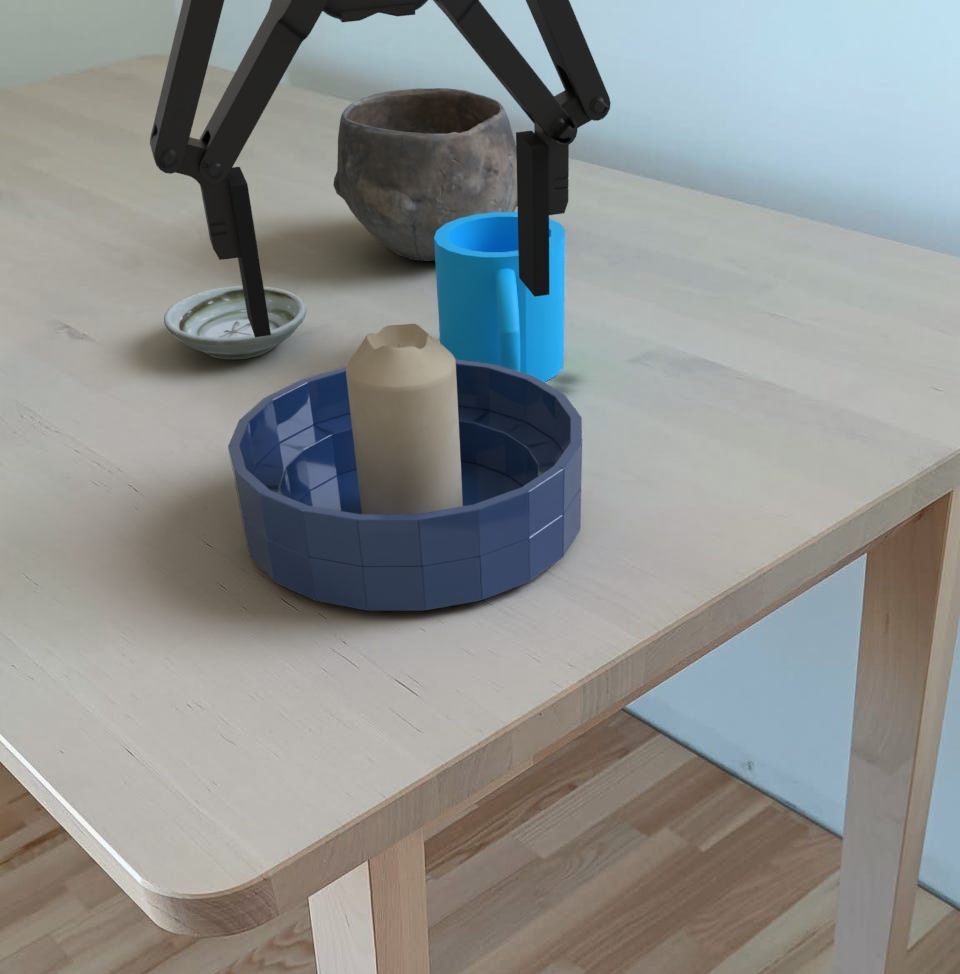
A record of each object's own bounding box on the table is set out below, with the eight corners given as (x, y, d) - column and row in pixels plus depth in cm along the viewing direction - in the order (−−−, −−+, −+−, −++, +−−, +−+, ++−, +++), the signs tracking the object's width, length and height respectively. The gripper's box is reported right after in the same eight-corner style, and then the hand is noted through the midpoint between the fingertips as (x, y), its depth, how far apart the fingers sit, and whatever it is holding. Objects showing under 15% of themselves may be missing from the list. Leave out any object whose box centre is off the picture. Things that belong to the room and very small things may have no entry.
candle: (452, 546, 67) (442, 359, 60) (351, 540, 68) (329, 355, 61) (471, 495, 71) (463, 313, 64) (375, 490, 72) (357, 310, 65)
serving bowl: (228, 476, 75) (211, 385, 71) (525, 429, 78) (524, 339, 74) (273, 647, 62) (255, 546, 58) (627, 583, 65) (632, 484, 61)
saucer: (287, 377, 84) (281, 341, 82) (149, 371, 86) (141, 335, 84) (326, 320, 91) (321, 285, 89) (198, 315, 92) (191, 281, 91)
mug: (439, 342, 87) (432, 215, 82) (557, 335, 88) (558, 208, 82) (446, 420, 79) (438, 284, 73) (577, 412, 79) (579, 276, 73)
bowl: (384, 296, 94) (371, 146, 87) (316, 234, 104) (300, 95, 97) (553, 262, 98) (554, 116, 91) (472, 205, 108) (467, 70, 101)
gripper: (-1, -256, 42) (144, 374, 57) (706, -304, 46) (670, 296, 61) (1, -264, 47) (133, 314, 62) (634, -307, 51) (617, 246, 66)
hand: (399, 306), depth 61 cm, fingers open, 13 cm apart
